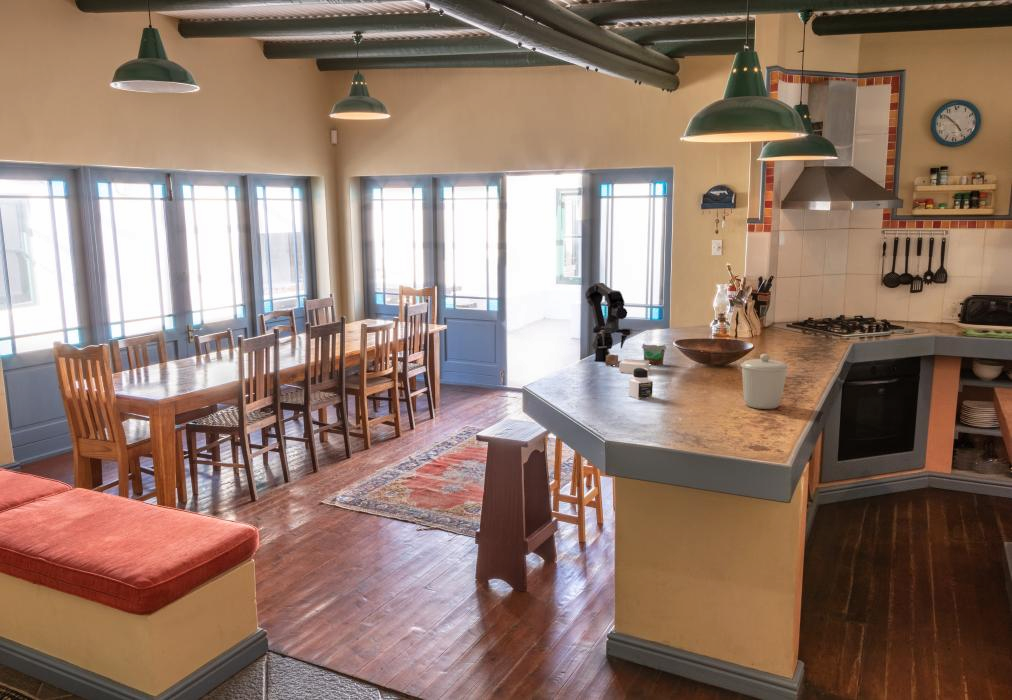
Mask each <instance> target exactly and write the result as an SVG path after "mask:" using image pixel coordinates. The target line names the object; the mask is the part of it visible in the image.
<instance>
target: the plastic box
mask: <svg viewBox="0 0 1012 700" xmlns="http://www.w3.org/2000/svg"><path fill="white" fill-rule="evenodd" d="M618 368H619V369H618V373H619V372H624V373H623V374H628V373H634V369H636V368H646V369H648V370H650V365H649V361H648V360H644V359H631V358H630V359H628V358H624V359H623V360H622V361H620V362H618Z"/></svg>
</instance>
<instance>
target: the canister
mask: <svg viewBox="0 0 1012 700" xmlns="http://www.w3.org/2000/svg"><path fill="white" fill-rule="evenodd" d="M740 367H741V375H742V377H741V378H742V391H743V399H744V403H745V405H747V406H748V407H750V408H754V409H758V410H773V409H776V408H778V407H779V406H780V405H781V402H782V399H783V398H782V397H783V394H784V393H783V392H784V389H785V388H784V387H785V383H786V378H787V377H786V376H787V371H788V370H789V368H790V367H789V365H786V363H785V362H783V361H778V360H773V359H770V355H769V354H767V353H762V354H760V356H759V358H754V359H752V358H751V359H748V360H747V359H746V360H745V361H743V362H741V363H740Z"/></svg>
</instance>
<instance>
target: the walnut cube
mask: <svg viewBox="0 0 1012 700" xmlns="http://www.w3.org/2000/svg"><path fill="white" fill-rule="evenodd" d="M617 364H618V365H619V354H608V355H607V356H606V362H605V366H606V365H615V366H614V367H617V366H618V365H617ZM616 365H617V366H616Z"/></svg>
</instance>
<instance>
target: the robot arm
mask: <svg viewBox="0 0 1012 700" xmlns="http://www.w3.org/2000/svg"><path fill="white" fill-rule="evenodd" d="M584 294H585V299H586V302H587V303H588V304H589V305H590V306H591V309H592V313H593V318H594V323H595V326H594V327H593V328H592V333H594V334H595V336H594V341H593V343H592V349H594V350H595V351H594V352H595V355H594V356H595V358H594V359H593V361H594V362H603V361H606V356H607V355H608V354H610V353H611V352H610V350H612V348H613V342H614V340H613V336H612V334H615V333H617V334H621V336H620V337H621V338H620V339H621V340H620V349H623V346H624V344H625V341H626V340H627V337H630V335H632V334H633V328H632V327H623V328H620V326H619V325H620V324H619V323H620V320H624V319H626V317H627V315H628V310H627V309H626V308H625V307H624V306H625V300H624V298H623V294H622V292H621V291H620V290H613V289H611V288H610V287H609V286H607V285H606V284H605V283H603V282H596V283H594V284H593V285H592V286H590V287H589V288H588V289H587V290H586V291H585V293H584ZM603 297H604V300H605V301H606V303H607V304H606V307H607V317H606V322H605V318H604V312H603V308H602V304H601V303H602V301H603ZM610 355H611V354H610Z"/></svg>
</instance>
